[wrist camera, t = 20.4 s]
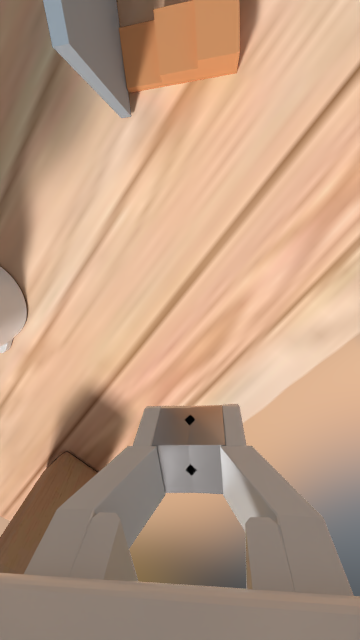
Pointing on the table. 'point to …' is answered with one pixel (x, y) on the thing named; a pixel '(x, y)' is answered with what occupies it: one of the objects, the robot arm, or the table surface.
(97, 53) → the door
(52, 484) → the wooden block
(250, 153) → the table surface
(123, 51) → the orange stepped block
